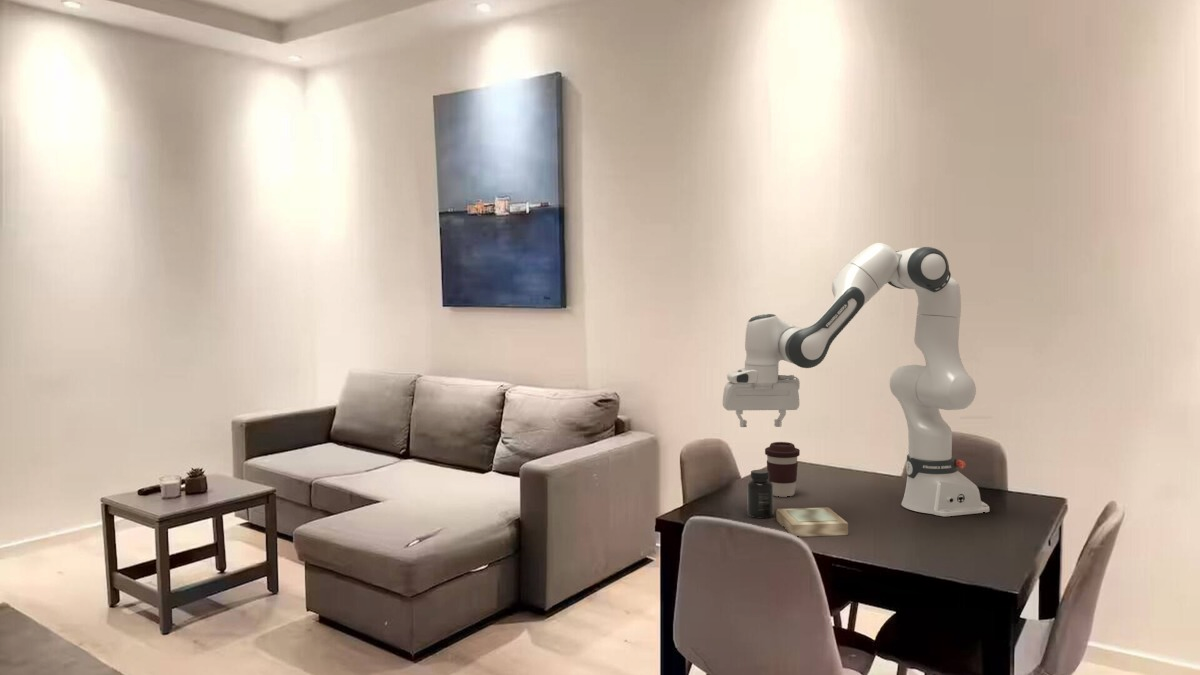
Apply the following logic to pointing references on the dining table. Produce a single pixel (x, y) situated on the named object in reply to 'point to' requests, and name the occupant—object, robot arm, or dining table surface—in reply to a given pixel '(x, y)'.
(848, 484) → the dining table surface
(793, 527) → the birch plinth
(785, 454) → the coffee cup
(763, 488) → the supplement bottle
